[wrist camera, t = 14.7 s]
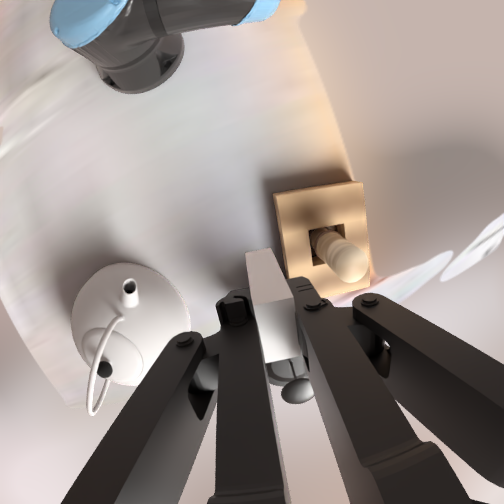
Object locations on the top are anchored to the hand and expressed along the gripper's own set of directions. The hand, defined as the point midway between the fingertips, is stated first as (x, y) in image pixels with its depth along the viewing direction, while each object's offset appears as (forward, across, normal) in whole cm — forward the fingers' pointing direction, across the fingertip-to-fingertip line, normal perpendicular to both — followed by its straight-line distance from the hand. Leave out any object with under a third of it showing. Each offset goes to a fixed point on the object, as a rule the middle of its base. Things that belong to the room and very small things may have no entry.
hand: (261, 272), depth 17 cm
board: (+30, +12, -8) cm, 34 cm away
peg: (+30, +12, -8) cm, 34 cm away
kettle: (+31, -24, -15) cm, 42 cm away
